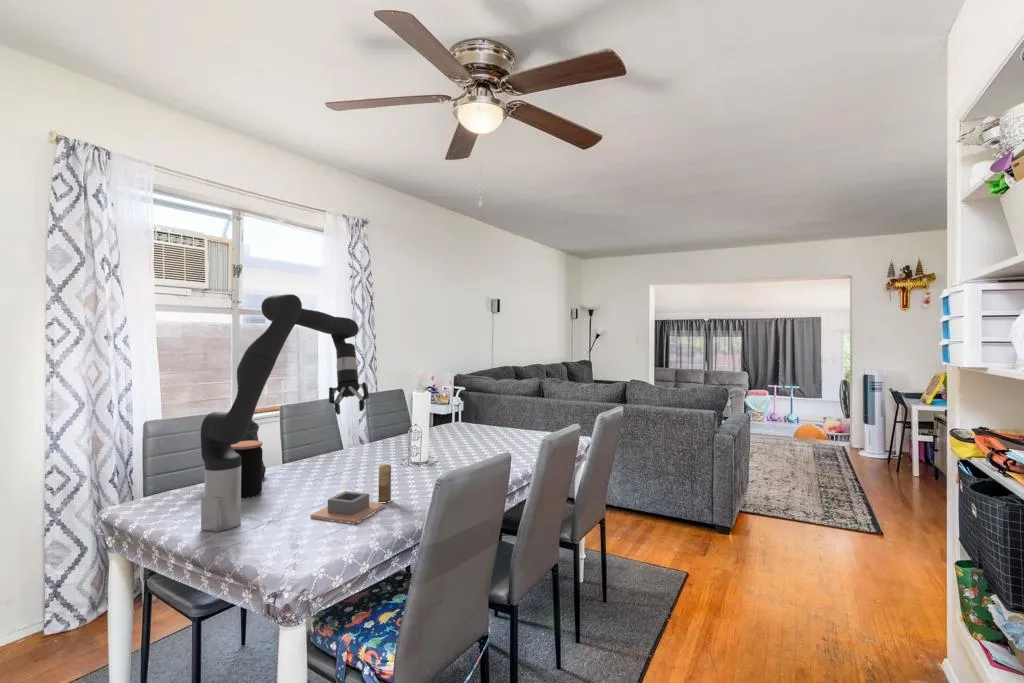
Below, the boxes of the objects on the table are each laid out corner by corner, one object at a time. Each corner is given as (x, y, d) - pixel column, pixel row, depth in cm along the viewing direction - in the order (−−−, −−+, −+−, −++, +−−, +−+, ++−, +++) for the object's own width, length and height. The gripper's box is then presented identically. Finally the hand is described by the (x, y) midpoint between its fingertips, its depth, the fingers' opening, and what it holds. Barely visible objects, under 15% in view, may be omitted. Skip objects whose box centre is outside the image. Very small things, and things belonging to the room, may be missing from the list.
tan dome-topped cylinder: (386, 503, 164) (387, 468, 164) (376, 502, 165) (376, 467, 165) (392, 500, 168) (393, 465, 168) (382, 499, 169) (382, 464, 169)
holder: (355, 524, 146) (355, 507, 146) (310, 518, 150) (310, 501, 150) (384, 507, 161) (384, 491, 161) (342, 502, 166) (342, 487, 166)
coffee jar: (268, 490, 177) (268, 440, 177) (249, 500, 167) (250, 447, 167) (240, 489, 178) (241, 440, 178) (220, 498, 168) (220, 446, 168)
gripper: (325, 371, 184) (327, 414, 180) (363, 365, 185) (366, 408, 181) (331, 375, 191) (334, 416, 187) (368, 369, 192) (371, 410, 188)
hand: (350, 412), depth 184 cm, fingers open, 8 cm apart
